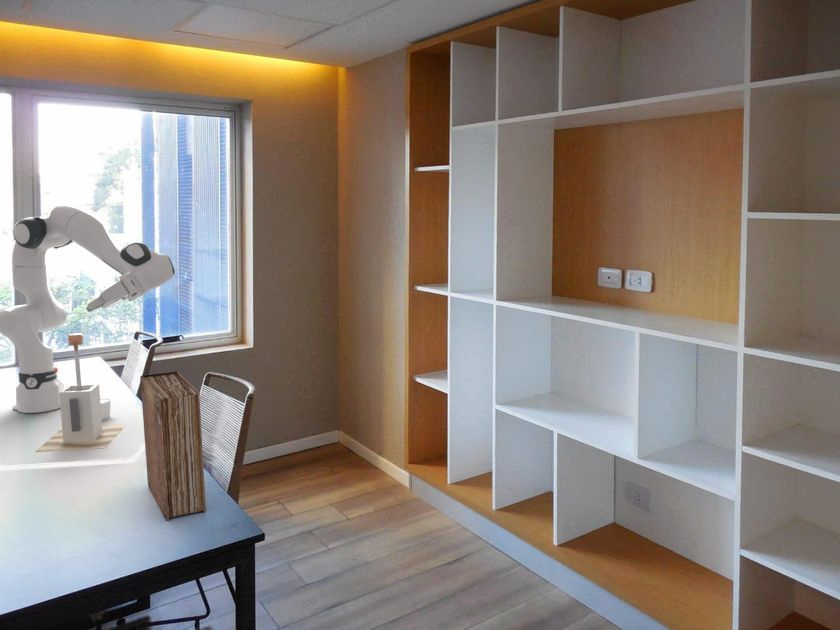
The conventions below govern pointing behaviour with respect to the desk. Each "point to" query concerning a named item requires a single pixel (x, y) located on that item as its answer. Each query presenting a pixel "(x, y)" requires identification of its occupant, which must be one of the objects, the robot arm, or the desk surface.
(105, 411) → the shot glass
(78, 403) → the slotted white box
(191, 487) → the book
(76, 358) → the plunger
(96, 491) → the desk surface
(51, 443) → the oak board
